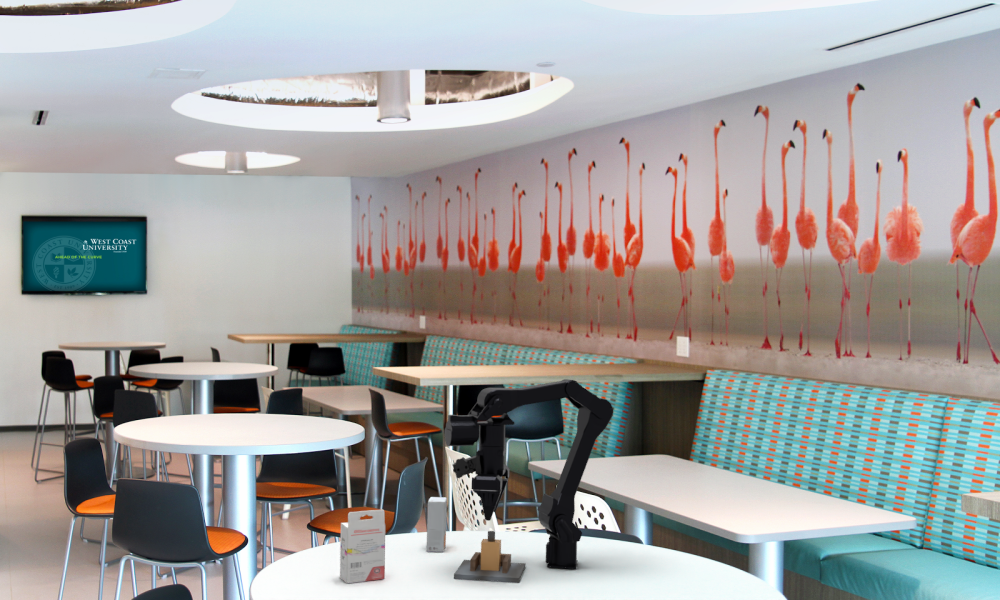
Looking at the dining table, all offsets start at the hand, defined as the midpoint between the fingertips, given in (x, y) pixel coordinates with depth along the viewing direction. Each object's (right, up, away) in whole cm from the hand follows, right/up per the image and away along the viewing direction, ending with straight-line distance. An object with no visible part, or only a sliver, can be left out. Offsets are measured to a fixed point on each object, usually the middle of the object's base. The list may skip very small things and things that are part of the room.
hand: (490, 515), depth 199 cm
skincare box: (-13, -12, +17) cm, 25 cm away
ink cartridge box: (-27, -11, -9) cm, 31 cm away
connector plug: (0, -11, -3) cm, 11 cm away
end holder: (0, -12, -3) cm, 12 cm away
